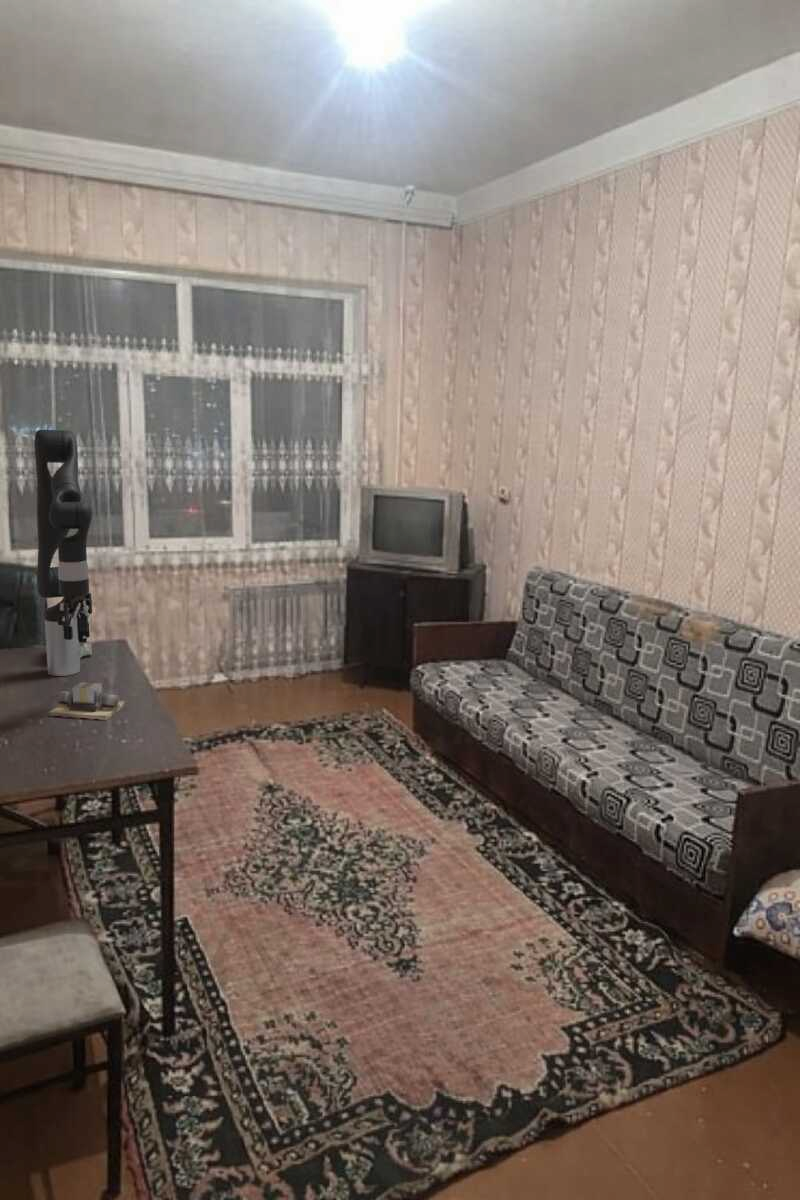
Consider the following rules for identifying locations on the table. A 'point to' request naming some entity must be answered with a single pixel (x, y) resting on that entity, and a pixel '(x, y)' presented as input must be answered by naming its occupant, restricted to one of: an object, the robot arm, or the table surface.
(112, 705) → the beige flat board
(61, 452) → the robot arm
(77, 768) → the table surface
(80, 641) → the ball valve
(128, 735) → the table surface
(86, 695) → the block
